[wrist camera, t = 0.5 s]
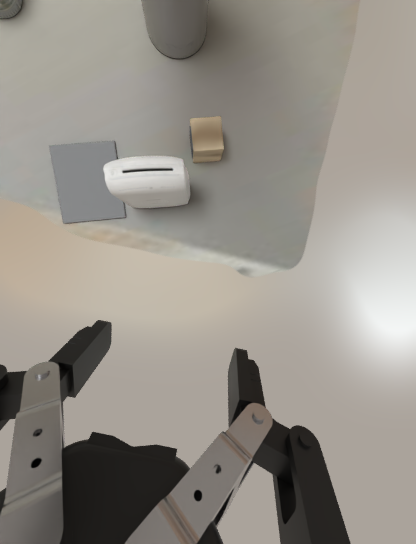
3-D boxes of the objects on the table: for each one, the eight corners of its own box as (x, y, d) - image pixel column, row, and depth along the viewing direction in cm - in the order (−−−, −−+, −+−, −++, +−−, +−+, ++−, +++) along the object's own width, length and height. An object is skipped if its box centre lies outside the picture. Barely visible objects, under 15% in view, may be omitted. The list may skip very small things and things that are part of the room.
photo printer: (130, 210, 36) (98, 192, 24) (127, 184, 36) (93, 151, 24) (191, 206, 37) (191, 186, 25) (189, 180, 36) (187, 146, 24)
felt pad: (50, 146, 34) (48, 145, 34) (114, 141, 35) (113, 140, 34) (64, 223, 36) (63, 223, 35) (126, 217, 36) (125, 217, 36)
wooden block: (189, 134, 36) (188, 118, 31) (217, 132, 36) (220, 116, 32) (192, 163, 36) (192, 151, 32) (220, 160, 37) (223, 148, 32)
